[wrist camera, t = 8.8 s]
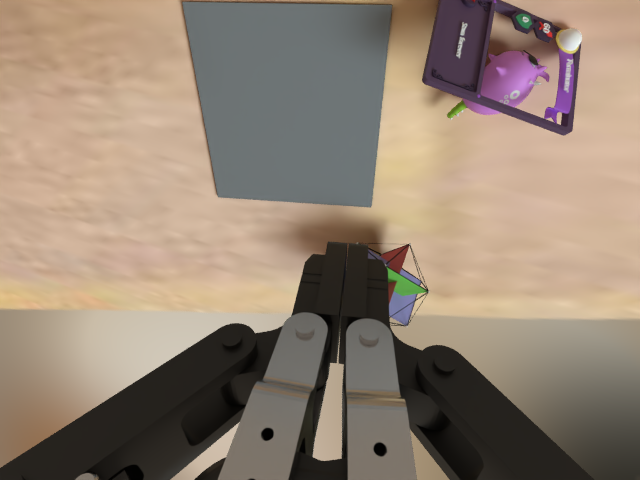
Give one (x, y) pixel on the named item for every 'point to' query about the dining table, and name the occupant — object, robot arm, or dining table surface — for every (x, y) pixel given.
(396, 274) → the geometric puzzle
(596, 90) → the dining table surface
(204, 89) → the mat
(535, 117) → the game card
